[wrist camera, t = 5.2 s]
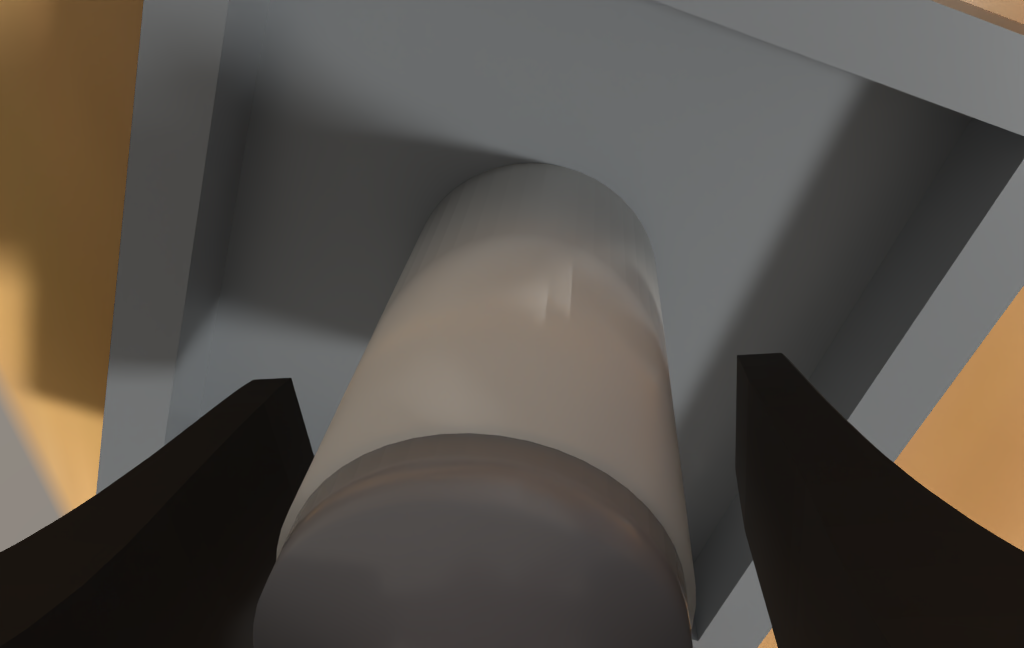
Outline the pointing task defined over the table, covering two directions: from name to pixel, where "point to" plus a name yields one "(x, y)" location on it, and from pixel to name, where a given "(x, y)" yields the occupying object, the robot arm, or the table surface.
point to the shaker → (500, 444)
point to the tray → (596, 153)
